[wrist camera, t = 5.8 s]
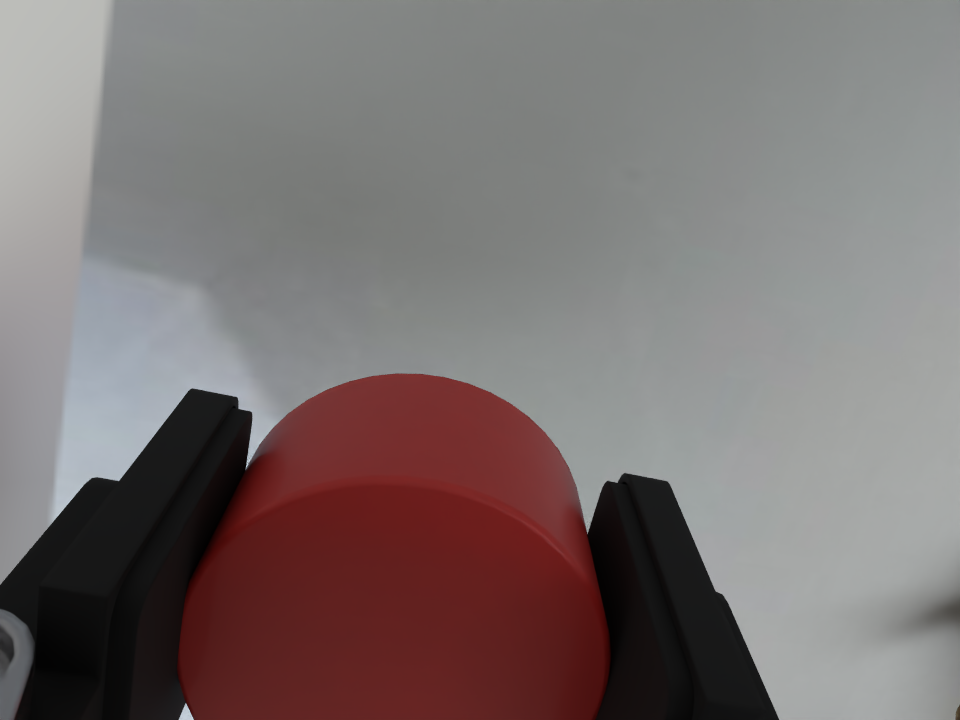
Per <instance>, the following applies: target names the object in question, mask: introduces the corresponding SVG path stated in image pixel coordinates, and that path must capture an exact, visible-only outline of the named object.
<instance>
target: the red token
mask: <svg viewBox="0 0 960 720" xmlns="http://www.w3.org/2000/svg"><path fill="white" fill-rule="evenodd" d="M610 663H611V647H610V633H609V629H608V624H607V620H606V615H605V611H604V607H603V602H602V598H601V593H600V589H599V584H598V580H597V575H596V571H595V567H594V562H593V558H592V553H591V549H590V544H589V540H588V535H587V531H586V526H585V522H584V518H583V513H582V509H581V504H580V500H579V496H578V491H577V487H576V484H575V482H574V479H573V477H572V474H571V472H570V469H569V467H568V465H567V464H566V462H565V460H564V458H563V457H562V455H561V453H560V451H559V450H558V448H557V447H556V446H555V445H554V443H553V442H552V441H551V440H550V438H549V437H548V436H547V434H546V433H545V432H544V431H543V430H542V429H541V428H540V427H539V426H538V425H537V424H536V423H535V422H534V421H533V420H531V419H530V418H529V417H528V416H527V415H525V414H524V413H523V412H521V411H520V410H519V409H517V408H516V407H515V406H513V405H512V404H510V403H509V402H507V401H505V400H503V399H501V398H500V397H498V396H496V395H494V394H492V393H491V392H488V391H486V390H483V389H481V388H478V387H476V386H473V385H471V384H468V383H464V382H461V381H457V380H453V379H449V378H445V377H439V376H432V375H424V374H388V375H379V376H371V377H367V378H362V379H358V380H354V381H349V382H347V383H344V384H341V385H338V386H336V387H333V388H330V389H328V390H326V391H324V392H322V393H320V394H318V395H316V396H314V397H312V398H310V399H308V400H307V401H305V402H304V403H302V404H301V405H300V406H298V407H297V408H295V409H294V410H293V411H291V412H290V413H288V414H287V415H286V416H285V417H284V418H283V419H282V420H281V421H280V422H279V423H278V424H277V425H276V426H275V427H274V428H273V429H272V430H271V431H270V432H269V434H268V435H267V436H266V437H265V439H264V440H263V441H262V442H261V444H260V445H259V447H258V449H257V450H256V452H255V454H254V455H253V457H252V459H251V461H250V462H249V464H248V466H247V468H246V470H245V472H244V474H243V476H242V478H241V480H240V482H239V484H238V486H237V488H236V490H235V492H234V494H233V496H232V498H231V500H230V502H229V504H228V506H227V508H226V510H225V512H224V514H223V516H222V518H221V520H220V522H219V524H218V525H217V527H216V529H215V531H214V533H213V535H212V537H211V539H210V541H209V543H208V545H207V547H206V549H205V551H204V553H203V555H202V557H201V559H200V561H199V563H198V565H197V567H196V569H195V571H194V573H193V575H192V577H191V579H190V581H189V583H188V587H187V592H186V596H185V603H184V610H183V618H182V626H181V634H180V643H179V652H178V663H177V672H178V679H179V682H180V686H181V689H182V692H183V696H184V699H185V702H186V704H187V706H188V708H189V710H190V712H191V714H192V716H193V719H194V720H595V719H596V717H597V714H598V711H599V709H600V706H601V703H602V700H603V697H604V694H605V691H606V687H607V683H608V679H609V673H610Z"/></svg>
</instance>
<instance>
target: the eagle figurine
mask: <svg viewBox="0 0 960 720" xmlns="http://www.w3.org/2000/svg"><path fill="white" fill-rule="evenodd" d="M956 720H960V705H959V707H958V709H957V711H956Z"/></svg>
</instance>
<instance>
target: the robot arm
mask: <svg viewBox="0 0 960 720" xmlns="http://www.w3.org/2000/svg"><path fill="white" fill-rule="evenodd" d="M251 426H252V412H250V411H245V410H240V409H238V398H237V397H233V396H228V395H223V394H218V393H213V392H208V391H203V390H198V389H190V390H189V391H188V392H187V394H186V395H185V396H184V398H183V399H182V400H181V402H180V403H179V404H178V405H177V407H176V408H175V409H174V411H173V412H172V413H171V415H170V416H169V417H168V418H167V420H166V421H165V422H164V424H163V425H162V426H161V428H160V429H159V430H158V431H157V433H156V434H155V435H154V437H153V438H152V439H151V441H150V442H149V443H148V444H147V446H146V447H145V448H144V450H143V451H142V452H141V453H140V455H139V456H138V457H137V459H136V460H135V461H134V463H133V464H132V465H131V466H130V468H129V469H128V470H127V472H126V473H125V474H124V476H123V477H122V478H121V479H120V481H115V480H109V479H104V478H98V477H97V478H91V479H90V480H89V481H88V482H87V483H86V484H85V485H84V486H83V487H82V488H81V489H80V491H79V492H78V493H77V494H76V495H75V497H74V498H73V499H72V500H71V501H70V503H69V504H68V505H67V506H66V507H65V508H64V510H63V511H62V512H61V513H60V514H59V516H58V517H57V518H56V519H55V520H54V522H53V523H52V524H51V525H50V526H49V528H48V529H47V530H46V531H45V532H44V534H43V535H42V536H41V537H40V538H39V540H38V541H37V542H36V543H35V544H34V545H33V547H32V548H31V549H30V550H29V551H28V553H27V554H26V555H25V556H24V557H23V559H22V560H21V561H20V562H19V563H18V564H17V566H16V567H15V568H14V569H13V570H12V572H11V573H10V574H9V575H8V576H7V578H6V579H5V580H4V581H3V582H2V584H1V585H0V720H179V717H180V715H181V713H182V710H183V708H184V706H185V703H186V702H185V699H184V696H183V692H182V689H181V686H180V682H179V679H178V672H177V663H178V652H179V643H180V634H181V626H182V618H183V610H184V603H185V596H186V592H187V587H188V583H189V581H190V579H191V577H192V575H193V573H194V571H195V569H196V567H197V565H198V563H199V561H200V559H201V557H202V555H203V553H204V551H205V549H206V547H207V545H208V543H209V541H210V539H211V537H212V535H213V533H214V531H215V529H216V527H217V525H218V524H219V522H220V520H221V518H222V516H223V514H224V512H225V510H226V508H227V506H228V504H229V502H230V500H231V498H232V496H233V494H234V492H235V490H236V488H237V486H238V484H239V482H240V480H241V478H242V476H243V474H244V472H245V469H246V462H247V455H248V448H249V441H250V434H251ZM588 540H589V544H590V549H591V553H592V558H593V562H594V567H595V571H596V575H597V580H598V584H599V589H600V593H601V598H602V602H603V607H604V611H605V615H606V620H607V624H608V629H609V633H610V647H611V663H610V673H609V679H608V683H607V687H606V691H605V694H604V697H603V700H602V703H601V706H600V709H599V711H598V714H597V717H596V719H595V720H779V718H778V716H777V714H776V711H775V709H774V707H773V705H772V702H771V700H770V698H769V695H768V693H767V691H766V689H765V686H764V684H763V682H762V679H761V677H760V675H759V673H758V670H757V668H756V666H755V664H754V661H753V659H752V657H751V654H750V652H749V650H748V648H747V645H746V643H745V641H744V639H743V636H742V634H741V632H740V629H739V627H738V625H737V623H736V620H735V618H734V616H733V613H732V611H731V609H730V607H729V604H728V602H727V601H726V599H725V598H724V596H723V595H722V594H720V593H718V592H715V589H714V587H713V585H712V582H711V580H710V578H709V575H708V573H707V571H706V568H705V566H704V563H703V561H702V559H701V556H700V554H699V552H698V549H697V547H696V545H695V542H694V540H693V538H692V535H691V533H690V531H689V528H688V526H687V524H686V521H685V519H684V517H683V514H682V512H681V510H680V507H679V505H678V502H677V500H676V498H675V495H674V493H673V491H672V488H671V486H670V484H669V483H668V481H663V480H658V479H653V478H647V477H642V476H637V475H632V474H627V473H624V474H623V475H622V476H621V477H620V479H619V481H618V483H615V482H610V481H607V482H606V483H605V484H604V486H603V488H602V491H601V493H600V496H599V500H598V503H597V506H596V509H595V512H594V516H593V519H592V522H591V525H590V528H589V532H588Z"/></svg>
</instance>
